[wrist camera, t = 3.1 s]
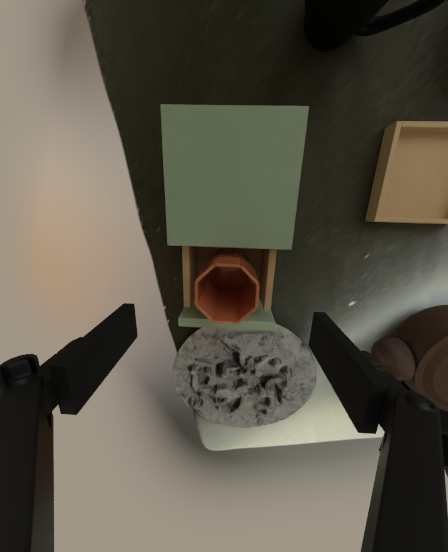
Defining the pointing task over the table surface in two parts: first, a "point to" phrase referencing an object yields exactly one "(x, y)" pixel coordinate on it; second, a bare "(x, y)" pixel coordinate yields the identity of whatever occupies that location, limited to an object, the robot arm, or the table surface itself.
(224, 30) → the table surface
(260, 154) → the cabinet
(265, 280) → the drawer
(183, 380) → the terrain model
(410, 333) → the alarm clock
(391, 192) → the tray
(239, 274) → the cup
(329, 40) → the mug
